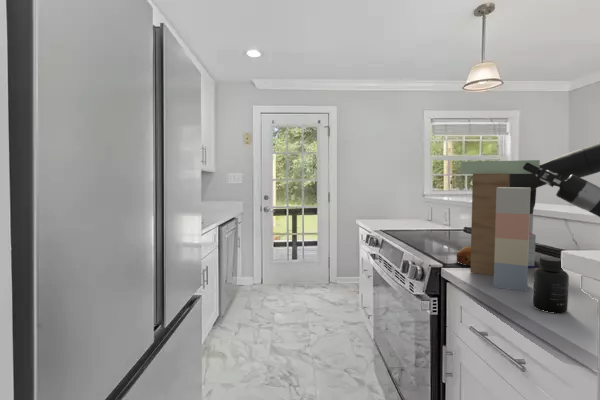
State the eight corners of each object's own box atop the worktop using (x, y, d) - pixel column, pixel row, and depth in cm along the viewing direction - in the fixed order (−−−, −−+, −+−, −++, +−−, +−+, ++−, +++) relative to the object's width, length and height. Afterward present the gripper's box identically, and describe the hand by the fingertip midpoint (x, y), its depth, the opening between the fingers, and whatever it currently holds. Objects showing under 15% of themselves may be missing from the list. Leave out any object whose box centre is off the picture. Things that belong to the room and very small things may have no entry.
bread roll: (486, 273, 137) (488, 251, 140) (483, 266, 129) (485, 243, 131) (457, 269, 142) (459, 249, 145) (452, 262, 134) (455, 241, 137)
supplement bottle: (526, 304, 93) (527, 255, 92) (552, 303, 93) (554, 255, 92) (546, 314, 86) (548, 262, 85) (575, 313, 86) (577, 261, 86)
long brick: (462, 174, 129) (462, 162, 128) (539, 173, 117) (539, 160, 117) (460, 173, 125) (460, 161, 125) (539, 173, 114) (539, 160, 113)
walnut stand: (473, 267, 130) (476, 174, 128) (507, 271, 125) (510, 173, 123) (470, 272, 123) (472, 173, 121) (505, 276, 118) (508, 173, 116)
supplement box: (535, 267, 129) (536, 234, 129) (516, 267, 131) (517, 234, 130) (528, 264, 135) (529, 232, 134) (510, 263, 136) (511, 231, 136)
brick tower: (496, 280, 114) (499, 187, 112) (527, 284, 110) (530, 187, 108) (493, 286, 107) (496, 187, 106) (526, 291, 103) (530, 188, 101)
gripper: (586, 181, 115) (532, 155, 122) (591, 182, 103) (532, 153, 110) (569, 202, 117) (518, 176, 124) (573, 205, 105) (516, 176, 112)
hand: (525, 165), depth 117 cm, fingers open, 8 cm apart
